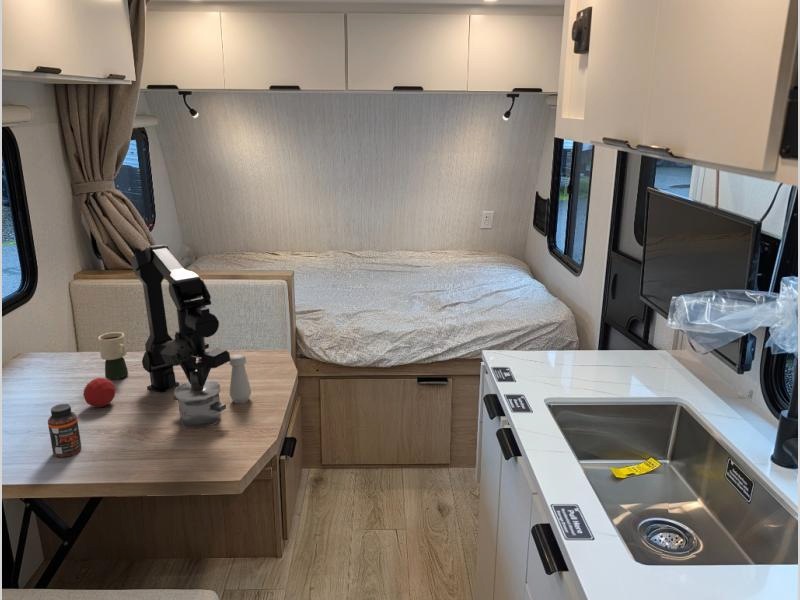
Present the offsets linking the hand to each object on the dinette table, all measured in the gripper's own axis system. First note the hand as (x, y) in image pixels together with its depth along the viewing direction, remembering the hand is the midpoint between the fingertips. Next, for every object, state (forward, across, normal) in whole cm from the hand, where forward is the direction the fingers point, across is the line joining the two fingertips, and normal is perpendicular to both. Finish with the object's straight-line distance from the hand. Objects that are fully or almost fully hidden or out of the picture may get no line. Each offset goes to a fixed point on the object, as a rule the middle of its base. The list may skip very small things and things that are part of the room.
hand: (197, 384), depth 157 cm
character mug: (+10, -42, +9) cm, 44 cm away
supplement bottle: (+10, -16, -26) cm, 32 cm away
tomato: (+10, -30, -6) cm, 32 cm away
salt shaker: (+10, +2, +13) cm, 16 cm away
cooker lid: (+2, 0, 0) cm, 2 cm away
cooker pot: (+10, 0, 0) cm, 10 cm away
